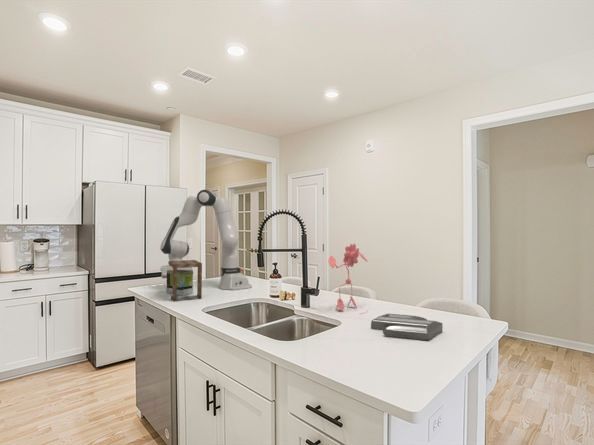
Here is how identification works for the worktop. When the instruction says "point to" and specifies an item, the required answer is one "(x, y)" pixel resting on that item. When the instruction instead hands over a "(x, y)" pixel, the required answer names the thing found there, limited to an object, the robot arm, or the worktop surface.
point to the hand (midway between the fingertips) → (178, 281)
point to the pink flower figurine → (350, 258)
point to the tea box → (180, 282)
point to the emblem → (407, 326)
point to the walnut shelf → (176, 265)
